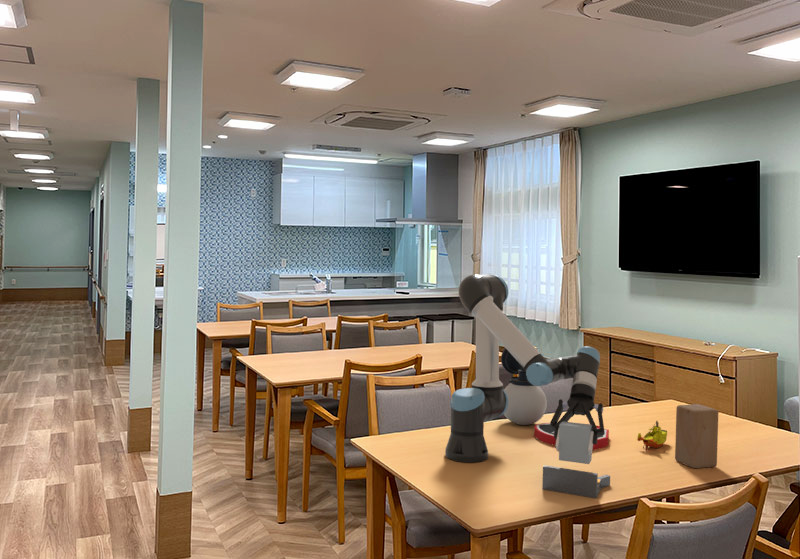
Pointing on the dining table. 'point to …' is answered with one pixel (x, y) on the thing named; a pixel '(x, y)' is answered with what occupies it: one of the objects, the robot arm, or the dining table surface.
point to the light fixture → (522, 394)
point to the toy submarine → (654, 437)
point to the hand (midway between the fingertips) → (573, 450)
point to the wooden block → (696, 435)
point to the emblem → (547, 435)
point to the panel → (574, 442)
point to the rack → (573, 481)
